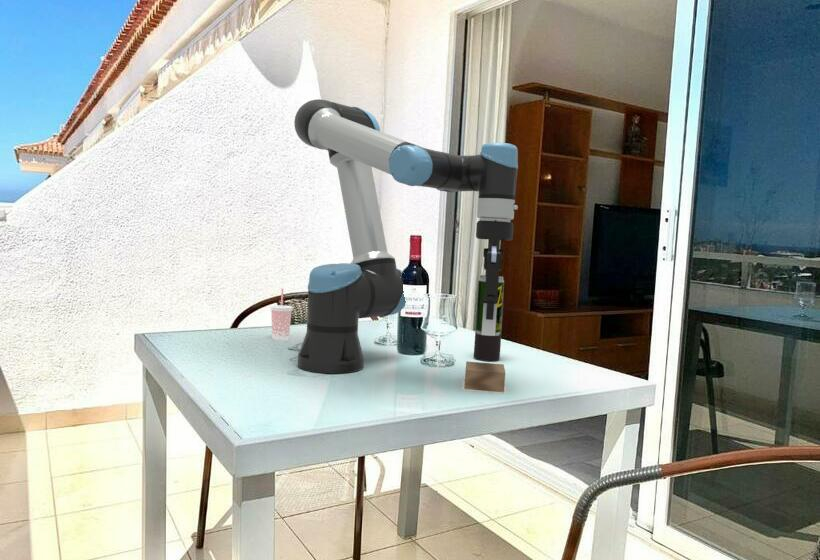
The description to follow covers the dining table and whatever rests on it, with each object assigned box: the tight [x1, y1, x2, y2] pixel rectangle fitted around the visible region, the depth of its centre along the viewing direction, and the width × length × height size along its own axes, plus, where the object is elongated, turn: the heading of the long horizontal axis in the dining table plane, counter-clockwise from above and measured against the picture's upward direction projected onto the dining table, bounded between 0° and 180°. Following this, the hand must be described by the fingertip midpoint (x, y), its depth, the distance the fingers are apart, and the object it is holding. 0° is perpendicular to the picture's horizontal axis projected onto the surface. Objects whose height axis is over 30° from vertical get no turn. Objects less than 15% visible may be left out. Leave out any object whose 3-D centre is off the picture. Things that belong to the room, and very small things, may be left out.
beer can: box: [474, 274, 505, 336], centre depth 125 cm, size 5×5×12 cm
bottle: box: [473, 302, 504, 362], centre depth 156 cm, size 7×7×20 cm
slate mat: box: [461, 378, 507, 394], centre depth 127 cm, size 16×10×1 cm, turn 84°
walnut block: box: [464, 361, 506, 393], centre depth 126 cm, size 8×8×4 cm
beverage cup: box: [270, 288, 294, 341], centre depth 168 cm, size 6×6×14 cm
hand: (488, 332), depth 125 cm, fingers closed on beer can, 5 cm apart
